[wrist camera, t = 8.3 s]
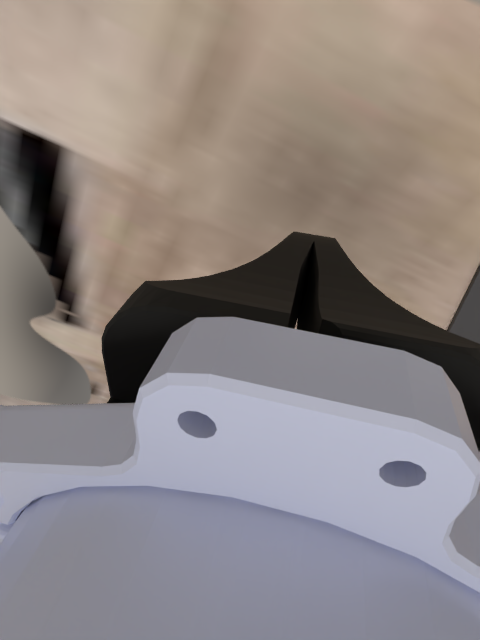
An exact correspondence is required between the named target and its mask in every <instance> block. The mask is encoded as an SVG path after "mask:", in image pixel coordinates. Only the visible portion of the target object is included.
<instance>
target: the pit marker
mask: <svg viewBox="0 0 480 640" xmlns="http://www.w3.org/2000/svg"><path fill="white" fill-rule="evenodd" d="M447 331H448V332H451V333H453V334H456V335H458V336H461V337H464V338H466V339H469V340H471V341H474V342H476V343H479V344H480V266H479V268H478V270H477V272H476V274H475V276H474V278H473V280H472V282H471V284H470V286H469V288H468V290H467V292H466V294H465V296H464V298H463V300H462V302H461V304H460V306H459V308H458V310H457V312H456V314H455V316H454V318H453V320H452V322H451V324H450V326H449V328H448V330H447Z"/></svg>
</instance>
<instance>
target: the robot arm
mask: <svg viewBox="0 0 480 640" xmlns="http://www.w3.org/2000/svg"><path fill="white" fill-rule="evenodd" d="M297 318H298V321H297ZM296 321H297V329H294V328H295V325H296ZM102 354H103V359H104V365H105V370H106V375H107V381H108V386H109V391H110V397H111V398H110V399H109V401H108V402H107V403H104V404H61V405H17V406H3V405H0V640H480V344H479V343H476V342H474V341H471V340H469V339H466V338H464V337H461V336H458V335H456V334H453V333H451V332H448V331H446V330H444V329H441V328H439V327H437V326H435V325H433V324H431V323H429V322H427V321H425V320H423V319H421V318H420V317H418V316H416V315H414V314H412V313H411V312H409V311H407V310H406V309H404V308H403V307H401V306H400V305H398V304H396V303H395V302H394V301H392V300H391V299H389V298H388V297H387V296H385V295H384V294H383V293H382V292H381V291H379V290H378V289H377V288H376V287H375V286H373V285H372V284H371V283H370V282H369V281H368V280H367V279H366V278H365V277H364V276H363V274H362V273H361V272H360V271H359V270H358V269H357V268H356V267H355V265H354V264H353V263H352V262H351V260H350V259H349V258H348V256H347V255H346V254H345V252H344V251H343V249H342V248H341V246H340V245H339V243H338V242H337V240H336V239H335V238H330V237H324V236H318V235H312V234H306V233H300V232H293V233H291V234H290V235H289V236H288V237H286V238H285V239H284V240H283V241H282V242H280V243H279V244H278V245H277V246H275V247H274V248H272V249H271V250H270V251H268V252H267V253H265V254H264V255H262V256H260V257H259V258H257V259H255V260H253V261H251V262H249V263H247V264H245V265H242V266H240V267H237V268H235V269H232V270H228V271H225V272H221V273H217V274H214V275H210V276H205V277H199V278H192V279H184V280H168V281H145V282H144V283H143V284H142V285H141V286H140V287H139V288H138V289H137V290H136V291H135V292H134V293H133V294H132V295H131V296H130V298H129V299H128V300H127V301H126V302H125V304H124V305H123V306H122V307H121V308H120V310H119V311H118V312H117V313H116V314H115V316H114V317H113V318H112V319H111V320H110V322H109V323H108V324H107V325H106V327H105V330H104V333H103V336H102Z"/></svg>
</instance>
